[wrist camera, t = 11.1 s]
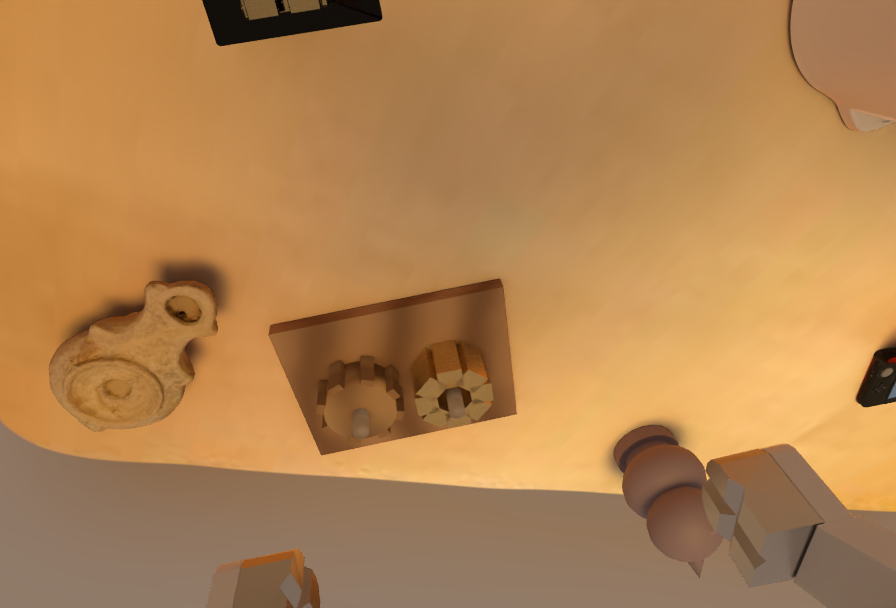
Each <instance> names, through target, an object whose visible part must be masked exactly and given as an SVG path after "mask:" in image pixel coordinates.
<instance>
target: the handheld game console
mask: <svg viewBox="0 0 896 608" xmlns="http://www.w3.org/2000/svg"><path fill="white" fill-rule="evenodd" d="M874 356H875V357H874V359H873V361H872V364H871V366H870V368H869V371H868V373H867V375H866V377H865V380H864V382H863V385H862V387H861V389H860V392H859V394H858V396H857V402H858V403H859V404H861V405H862V406H863V407H871V406H876V405H881V404H887V403H892V402H896V347H895V348H887V349H882V350H879V351H877V352H876V353H875V354H874Z"/></svg>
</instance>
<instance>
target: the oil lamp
mask: <svg viewBox="0 0 896 608" xmlns="http://www.w3.org/2000/svg"><path fill="white" fill-rule="evenodd" d="M216 315H217V308H216V300H215V296H214V294H213V292H212V290H211V289H210V288H209V287H208V286H206V285H204V284H203V283H200V282H197V281H194V280H190V281H177V282H174V283H166V282H162V281H151V282H149V283H148V285H147V286H146V288H145V307H144V309H143V310H142V311H140V312H133V313H130V314H129V315H126V316H116V317H108V318H104V319H101V320H99V321H97V322H95V323H93V324H92V325H91V326H90V328H89V330H86V331H84V332H81V333H79V334H77V335H75V336H73V337H72V338H70V339H68V340H67V341H65V342H64V343H63V344H61V345H60V347H59V348H58V349H57V351H56V352H55V354H54V355H53V357H52V359H51V362H50V365H49V376H50V386H51V390H52V392H53V394H54V395H55V397H56V399H57V400H58V402H59V403H60V404H61V405H62V406H63V407H64V408H65V409H66V410H67V411H68V412H69V413H70V414H71V415H72V416H74V417H75V418H77V419H78V420H79V422H80V423H82V424H83V425H84V426H85V427H87V428H88V429H90V430H92V431H94V432H100V431H103V430H105V429H129V428H137V427H142V426H146V425H150V424H153V423H155V422H158V421H160V420H163V419H164V418H166V417H167V416H168V415H170V414H171V413H172V412H173V411H174V409H175V408H176V407H177V406H178V404H179V403H180V401H181V399H182V397H183V395H184V390H185V385H186V384H188V383H190V382H191V381H192V380H193V378H194V375H195V372H194V369H193V366H192V364H191V361H190V359H189V357H188V355H187V353H186V352H185V347H186V345H187V344H188V342H189V341H190V340H192V339H194V338H196V337H206V336H213V335H215V334H216V333H217V331H218V326H217V321H216V320H215V318H216Z"/></svg>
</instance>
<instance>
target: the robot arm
mask: <svg viewBox="0 0 896 608" xmlns="http://www.w3.org/2000/svg"><path fill="white" fill-rule="evenodd" d="M790 29H791V44H792V49H793V54H794V57H795V60H796V63H797V65H798V68H799V70H800V71H801V73H802V75H803V76H804V78H805V79H806V80H807V81H808V82H809V83H810V84H811V85H812V86H813V87H814V88H815V89H816V90H818V91H820V92H821V93H823V94H824V95H826V96H828V97H829V98H831V99H832V100H833V101H834V102H835V103H836V104H837V107H838V110H839V112H840V115H841V117H842V119H843V121H844V123H845V125H846V126H847V127H848V128H849V129H850V130H854V131H858V132H863V133H867V132H871V131H874V130H877V129H880V128H882V127H885V126H887V125H890V124H893V123H895V122H896V0H793V5H792V12H791V27H790ZM706 473H707V474H708V476H709V477H710V479H709V480H708V481H707V482H706V483H705V484H704V485H703V489H702V500H703V505H704V510H705V512H706V514H707V517H708V519H709V521H710V523H711V525H712V526H713V528H714V530H715V531H716V533H718V534H719V535H721V536H722V537H724V538H726V539H727V540H729V541H730V549H729V555H730V556H731V558H732V560H733V562H734V563H735V565H736V567H737V568H738V570H739V572H740V573H741V575H742V577H743V578H744V580H745V582H746V583H747V585H748V587H749V588H750V587H755V586H760V585H766V584H771V583H776V582H782V581H787V580H792V579H794V582H795V583H796V584H797V585H798V586H800V587H801V588H802V589H804V590H805V591H806V592H808V593H809V594H810V595H812V596H813V597H814V598H816V599H817V600H818V601H820V602H821V603H822V604H823V605H825V606H826V607H827V608H896V534H895V533H894V532H892V531H890V530H888V529H886V528H884V527H882V526H880V525H879V524H877V523H875V522H873V521H871V520H869V519H867V518H865V517H863V516H857V517H853V515H852V514H851V513H850V512H849V511H848V510H847V508H846V507H845V506H844V505H843V504H842V503H841V501H840V500H839V499H838V498H837V497H836V496H835V494H834V493H833V492H832V491H831V490H830V489H829V487H828V486H827V485H826V484H825V483H824V482H823V480H822V479H821V478H820V477H819V476H818V475H817V473H816V472H815V471H814V470H813V469H812V468H811V466H810V465H809V464H808V463H807V462H806V461H805V459H804V458H803V457H802V456H801V455H800V454H799V452H798V451H797V450H796V449H795V448H794V447H792V446H791V445H789V444H779V445H775V446H770V447H766V448H761V449H754V450H750V451H746V452H742V453H737V454H733V455H729V456H725V457H720V458H716V459H712V460H710V461H709V462H708V463H707V467H706ZM304 561H305V557H304V555H303V554H302V552H301V551H300V549H294V550H290V551H284V552H280V553H275V554H270V555H266V556H261V557H256V558H251V559H244V560H240V561H235V562H231V563H227V564H222V565H219V566H218V568H217V570H216V572H215V574H214V575H213V579H212V583H211V587H210V592H209V596H208V600H207V604H206V608H320V595H319V586H318V582H317V579H316V576H315V574H314V572H313V570H312V569H310V568H307V567H305V566H304Z"/></svg>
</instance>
